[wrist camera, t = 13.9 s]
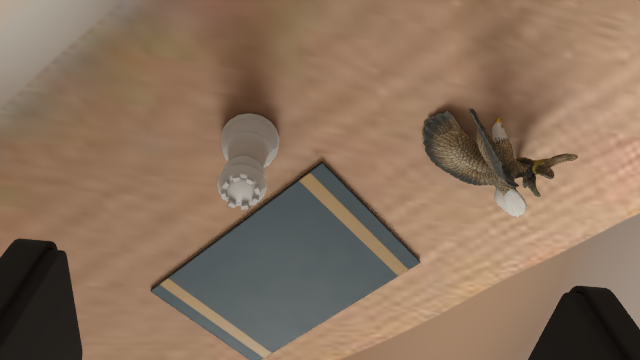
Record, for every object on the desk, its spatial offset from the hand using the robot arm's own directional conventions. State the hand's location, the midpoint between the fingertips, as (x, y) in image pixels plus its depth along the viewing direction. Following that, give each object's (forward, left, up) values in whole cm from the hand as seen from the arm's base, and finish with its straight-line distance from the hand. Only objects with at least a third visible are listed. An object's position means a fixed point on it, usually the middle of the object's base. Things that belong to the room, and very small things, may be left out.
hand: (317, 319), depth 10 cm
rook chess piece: (+3, +11, -28) cm, 31 cm away
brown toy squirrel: (-15, +9, -28) cm, 33 cm away
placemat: (-1, +25, -28) cm, 38 cm away
